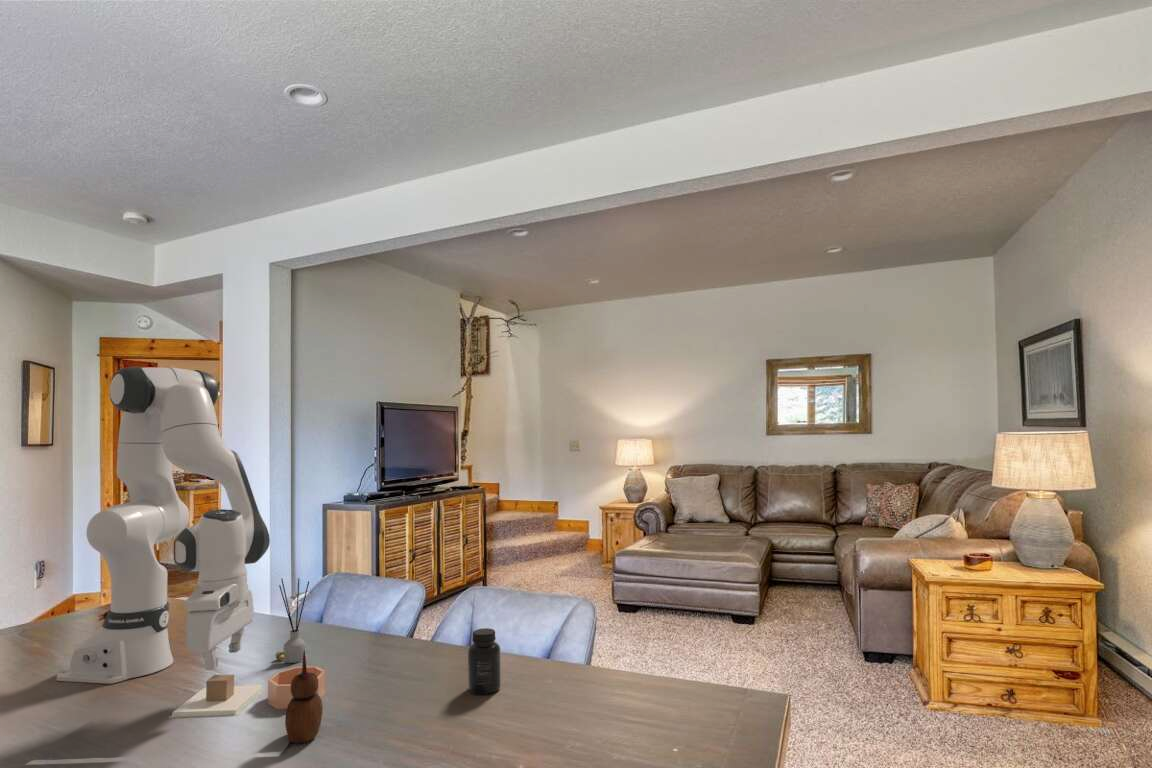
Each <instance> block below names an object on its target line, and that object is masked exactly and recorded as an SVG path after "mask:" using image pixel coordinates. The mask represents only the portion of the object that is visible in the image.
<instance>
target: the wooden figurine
mask: <svg viewBox="0 0 1152 768" xmlns="http://www.w3.org/2000/svg"><path fill="white" fill-rule="evenodd" d="M301 667H302V673H301V674H299V675H297V676H295V677H294V678H293V680H292V682H291V694H292V696H293V698H292V699H291V701H290V702H289V704H288V706H287V709H285V710H286V713H285V723H284V725H285V730H286V733H287V736H288V739H289V740H290V741H291V742H292V743H294V744H303V743H307V742H310V741H312V740H313V739H315V737H317V735H318V733H319V731H320V727H321V725H322V719H323V718H322V717H323V710H324V709H323V708H324V707H323V701H322V697H321V698H320V696H319V695H318V694H317V693H316V691H317V689H318V678H317V676H316V675H315V674H314V673H309V672H308V673H307V669H306V667H307V659H306V649H305V650H304V653H303V660H302V666H301Z"/></svg>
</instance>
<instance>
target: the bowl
mask: <svg viewBox="0 0 1152 768" xmlns="http://www.w3.org/2000/svg"><path fill="white" fill-rule="evenodd" d="M306 669H307V673H308V672H309V673H314V674H315V675H316V676H317V678H318V689H317V691H316V693H317V694H318V695H319V696H320V698H321V699H322V698H323V696H324V695H325V694H326V679H327V678H326V676H327V675H326V670H324V669H322V668H320V667H318V666H317V665H315V666H314V665H313V666H312V665H311V666H306ZM301 673H302V666H294V667H291V668H289V669H283V670H282V671H277V672H275V674H273V676H272V677H270V678H269V679H268V680H267V681H268V682H267V704H269V705H270V706H271V707H273V708H275V709H276V710H283V709H284V710H287V706H288V704H289V702H290V701H291V699H292V698H293V696H292V694H291V682H292V680H293V678H294V677H295V676H297V675H299V674H301Z"/></svg>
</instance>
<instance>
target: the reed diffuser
mask: <svg viewBox="0 0 1152 768" xmlns="http://www.w3.org/2000/svg"><path fill="white" fill-rule="evenodd" d="M280 579H281V580H280V581H281V584H279V585H278V587H279V590H280V593H281V596H282V600H283V604H284V608H285V609H286V613H287V617H288V621H289V623H290V626H291V630H290V631H289V632H290V634H289V638H288V640H287V641H285V643H284V644H283V649H282V650H278V651H277V652H276V653H275V658H276V660H278V659H280V660H279V661H280V662H282V661H281V660H283V662H284V663H286V664H296V663H300V662H303V653H304V650H305V651H306V643H305V640H303V639H301V637H300V631H299V627H300V622H301V618H302V613H303V609H304V605H305V601H306V598H307V597H306V596H307V592H308V589H309V583H310V581H307V585H306V588H305V593H304V596H303V601H302V605H301V610H300V614H299V598H300V596H299V595H300V578H297V594H296V595H297V596H296V597H297V599H296V618H295V619H296V621H295V629H294V625H293V620H292V615H291V612H290V611H291V610H290V608H289V603H288V598H287V594H286V590H285V585H284V581H283V578H280ZM281 585H282V587H281ZM282 589H283V591H282ZM283 592H284V593H283ZM298 616H299V617H298ZM298 618H299V619H298Z"/></svg>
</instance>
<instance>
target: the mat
mask: <svg viewBox="0 0 1152 768" xmlns="http://www.w3.org/2000/svg"><path fill="white" fill-rule="evenodd" d="M266 689H267V687H263V690H262V691H261V692H259V693H258V694H257V695H256V696H255V697H254V698H253V699H252V700H251V701H250V702H249V703H248V704H246V705H245V706H244V707H243V708H242V709H241V710H240V711H239V712H238V713H237V714H233V715H200V716H172V714H171V715H169V716H168V719H174V718H175V719H177V718H178V719H179V718H208V717H209V718H210V717H213V718H214V717H234V716H235V717H237V716H239V715H240V714H241V713H242V712H243V711H244V710H245V709H246V708H247V707H249V705H250V704H251V703H253V702H254V701H255V700H256V699H257V698H258V697H259V696H260V695H262V693H263V692H264V691H265V690H266Z"/></svg>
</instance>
